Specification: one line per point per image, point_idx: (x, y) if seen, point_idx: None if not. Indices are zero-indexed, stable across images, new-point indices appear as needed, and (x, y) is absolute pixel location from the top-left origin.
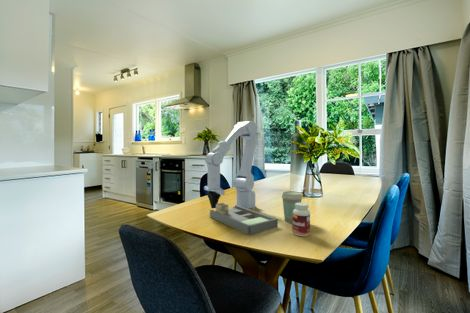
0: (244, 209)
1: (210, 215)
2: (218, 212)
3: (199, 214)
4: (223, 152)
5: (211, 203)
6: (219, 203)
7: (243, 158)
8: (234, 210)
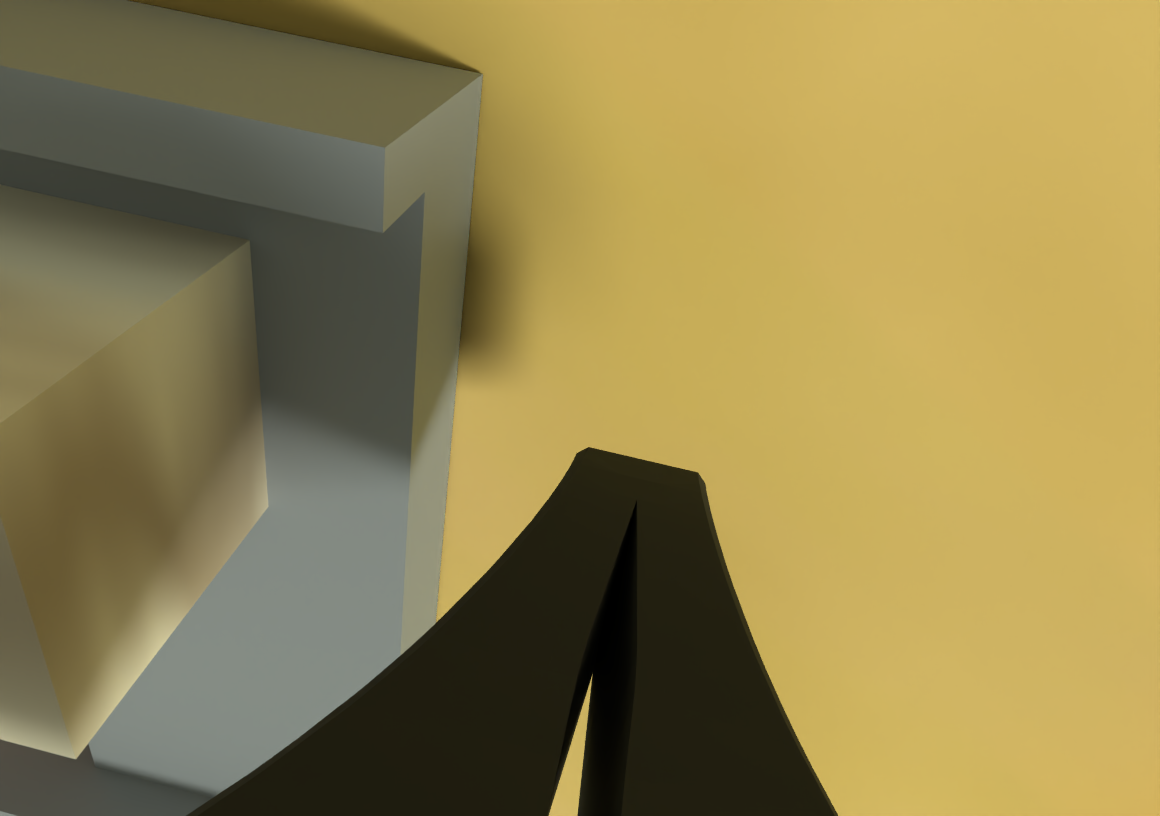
0: (3, 789)
1: (431, 83)
2: (21, 220)
3: (1105, 21)
4: None
5: (589, 570)
6: (29, 615)
7: None
8: (199, 706)
